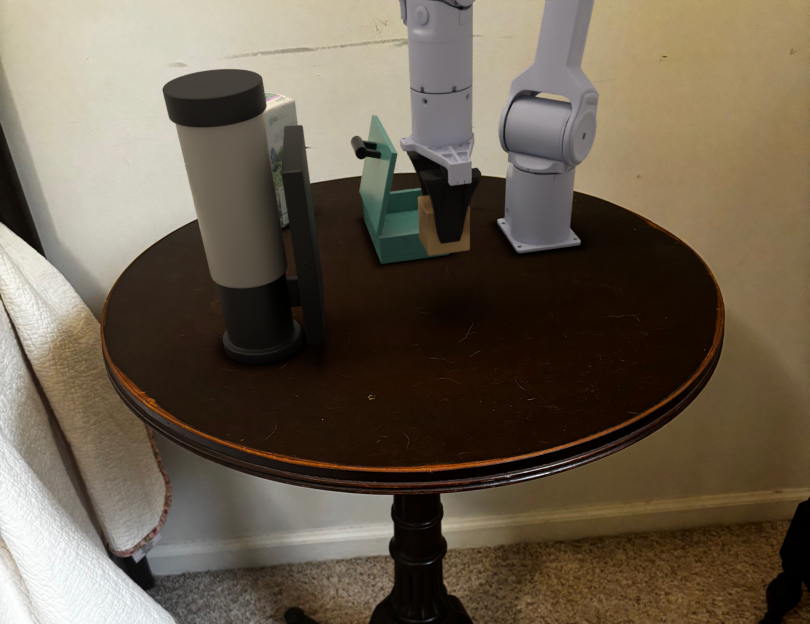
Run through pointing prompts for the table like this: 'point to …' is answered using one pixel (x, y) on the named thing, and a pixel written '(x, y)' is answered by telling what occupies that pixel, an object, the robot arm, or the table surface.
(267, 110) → the syrup box
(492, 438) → the table surface
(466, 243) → the block
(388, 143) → the lid
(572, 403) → the table surface
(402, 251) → the teal box base
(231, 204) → the light fixture
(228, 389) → the table surface
